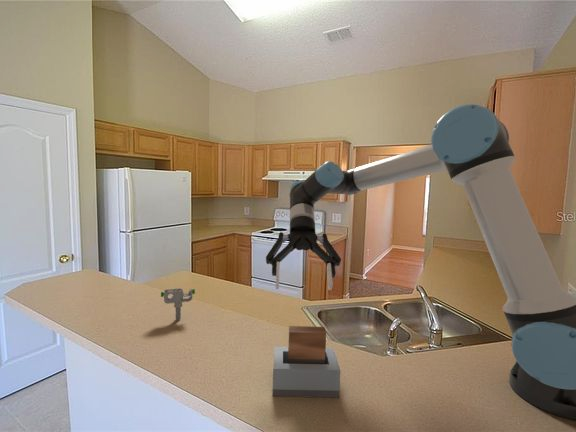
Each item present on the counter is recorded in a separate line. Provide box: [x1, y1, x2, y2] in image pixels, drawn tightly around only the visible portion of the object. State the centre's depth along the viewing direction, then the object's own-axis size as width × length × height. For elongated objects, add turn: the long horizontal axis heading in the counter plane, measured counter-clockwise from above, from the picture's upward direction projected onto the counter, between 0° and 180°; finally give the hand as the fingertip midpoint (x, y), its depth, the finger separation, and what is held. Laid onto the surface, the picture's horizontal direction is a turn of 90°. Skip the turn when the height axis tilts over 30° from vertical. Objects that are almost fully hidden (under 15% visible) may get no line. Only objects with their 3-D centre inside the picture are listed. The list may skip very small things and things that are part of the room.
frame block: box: [272, 346, 341, 398], centre depth 68 cm, size 9×14×6 cm, turn 91°
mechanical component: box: [160, 287, 196, 322], centre depth 98 cm, size 3×10×10 cm, turn 112°
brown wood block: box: [287, 325, 327, 364], centre depth 67 cm, size 3×8×11 cm, turn 91°
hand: (304, 287), depth 77 cm, fingers open, 13 cm apart
